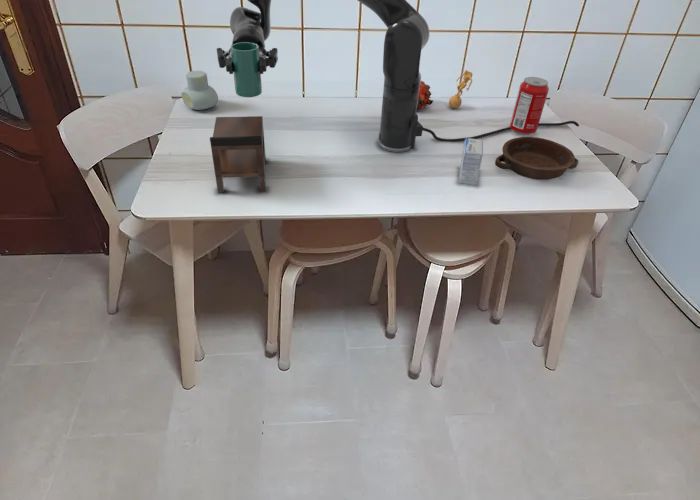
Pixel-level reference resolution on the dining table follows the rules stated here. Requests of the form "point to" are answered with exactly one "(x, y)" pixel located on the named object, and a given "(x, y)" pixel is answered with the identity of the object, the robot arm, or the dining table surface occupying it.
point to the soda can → (529, 105)
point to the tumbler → (246, 69)
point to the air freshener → (198, 91)
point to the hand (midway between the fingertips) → (246, 69)
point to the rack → (238, 149)
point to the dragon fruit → (424, 96)
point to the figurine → (460, 90)
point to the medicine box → (471, 161)
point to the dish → (536, 158)
